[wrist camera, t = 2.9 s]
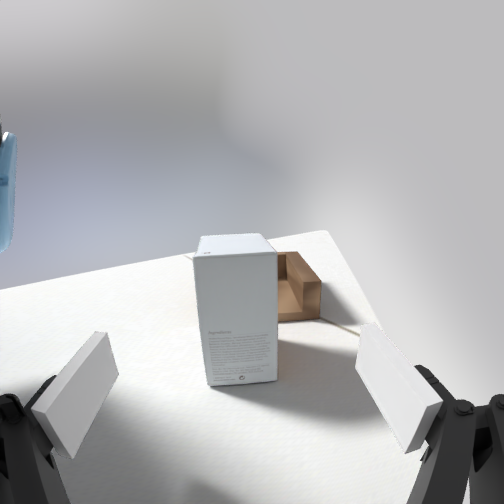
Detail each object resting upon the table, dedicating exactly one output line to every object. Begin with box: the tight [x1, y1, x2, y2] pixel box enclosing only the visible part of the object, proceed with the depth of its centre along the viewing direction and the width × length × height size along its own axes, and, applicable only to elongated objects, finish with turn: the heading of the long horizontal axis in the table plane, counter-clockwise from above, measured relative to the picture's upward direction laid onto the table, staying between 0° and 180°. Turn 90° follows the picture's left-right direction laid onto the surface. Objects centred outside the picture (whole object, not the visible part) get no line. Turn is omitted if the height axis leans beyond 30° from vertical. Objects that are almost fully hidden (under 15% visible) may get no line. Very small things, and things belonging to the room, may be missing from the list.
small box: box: [193, 233, 278, 386], centre depth 23 cm, size 8×6×10 cm
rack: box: [277, 252, 321, 321], centre depth 38 cm, size 12×14×4 cm
